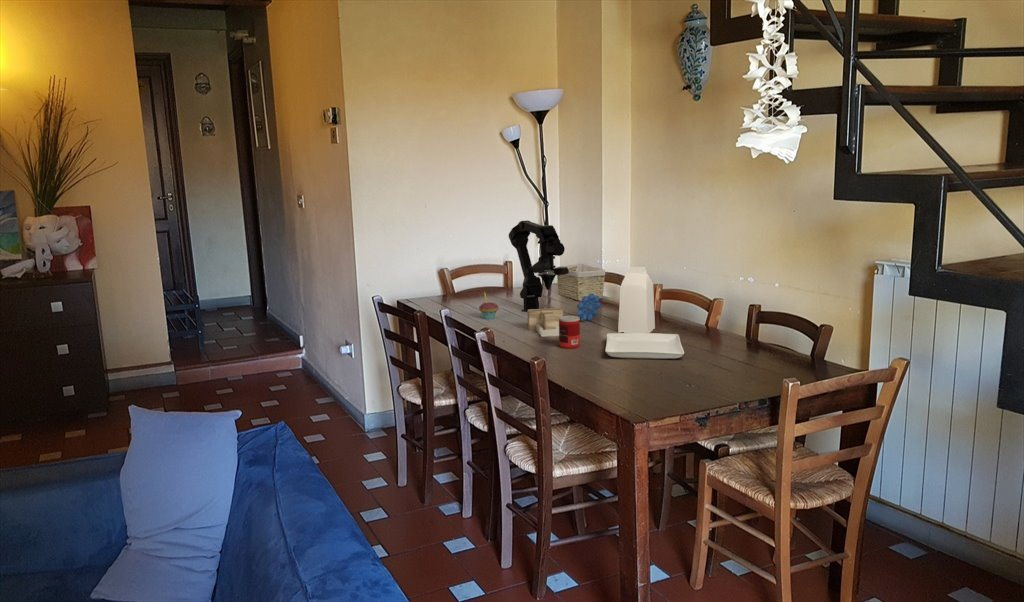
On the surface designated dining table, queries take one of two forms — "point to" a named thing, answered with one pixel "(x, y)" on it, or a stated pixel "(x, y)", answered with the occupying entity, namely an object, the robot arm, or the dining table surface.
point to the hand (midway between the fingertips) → (548, 289)
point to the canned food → (569, 332)
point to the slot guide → (547, 331)
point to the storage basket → (581, 282)
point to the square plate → (644, 345)
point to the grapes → (588, 307)
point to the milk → (636, 302)
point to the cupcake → (488, 309)
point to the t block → (544, 318)
